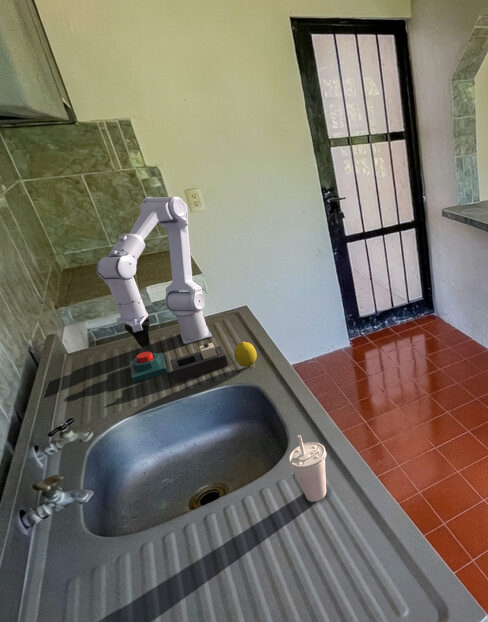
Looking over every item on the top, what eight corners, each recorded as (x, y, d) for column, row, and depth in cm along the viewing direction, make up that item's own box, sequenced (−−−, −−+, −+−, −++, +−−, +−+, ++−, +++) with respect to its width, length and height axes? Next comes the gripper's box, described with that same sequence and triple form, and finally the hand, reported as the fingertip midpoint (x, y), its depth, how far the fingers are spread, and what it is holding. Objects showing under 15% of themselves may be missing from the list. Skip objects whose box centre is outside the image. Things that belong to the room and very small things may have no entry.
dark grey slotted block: (173, 370, 128) (170, 360, 126) (223, 355, 134) (220, 345, 133) (177, 382, 122) (173, 371, 121) (228, 365, 129) (225, 355, 127)
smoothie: (296, 487, 87) (282, 429, 81) (330, 476, 89) (318, 419, 83) (300, 512, 81) (284, 452, 75) (336, 500, 84) (324, 440, 78)
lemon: (262, 361, 130) (256, 337, 127) (253, 372, 125) (246, 347, 122) (244, 361, 131) (238, 337, 127) (234, 371, 126) (227, 346, 122)
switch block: (131, 366, 131) (127, 355, 129) (163, 357, 135) (160, 347, 133) (133, 383, 123) (129, 372, 121) (167, 372, 127) (163, 362, 125)
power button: (138, 359, 128) (135, 354, 127) (152, 355, 130) (150, 350, 129) (138, 364, 125) (136, 359, 124) (153, 360, 127) (151, 355, 126)
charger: (204, 364, 130) (198, 343, 127) (217, 360, 132) (211, 339, 129) (206, 369, 128) (199, 347, 125) (219, 365, 129) (213, 343, 126)
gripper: (109, 296, 123) (127, 340, 129) (110, 313, 112) (129, 360, 118) (140, 289, 127) (155, 332, 133) (144, 305, 116) (160, 351, 122)
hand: (145, 345), depth 126 cm, fingers closed
